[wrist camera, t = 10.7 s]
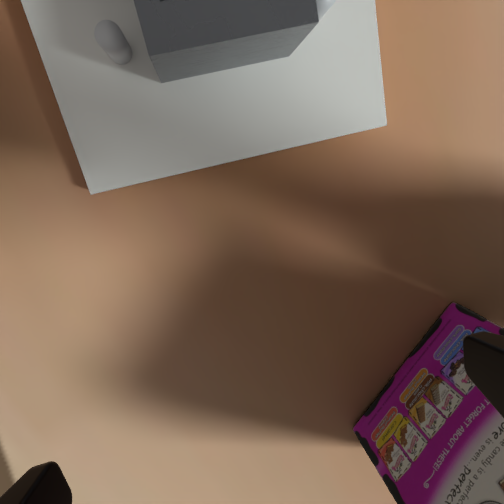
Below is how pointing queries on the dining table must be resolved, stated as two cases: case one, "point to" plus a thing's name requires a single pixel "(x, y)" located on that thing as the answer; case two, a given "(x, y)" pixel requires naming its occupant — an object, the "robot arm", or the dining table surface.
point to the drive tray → (201, 92)
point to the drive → (221, 33)
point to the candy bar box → (437, 423)
